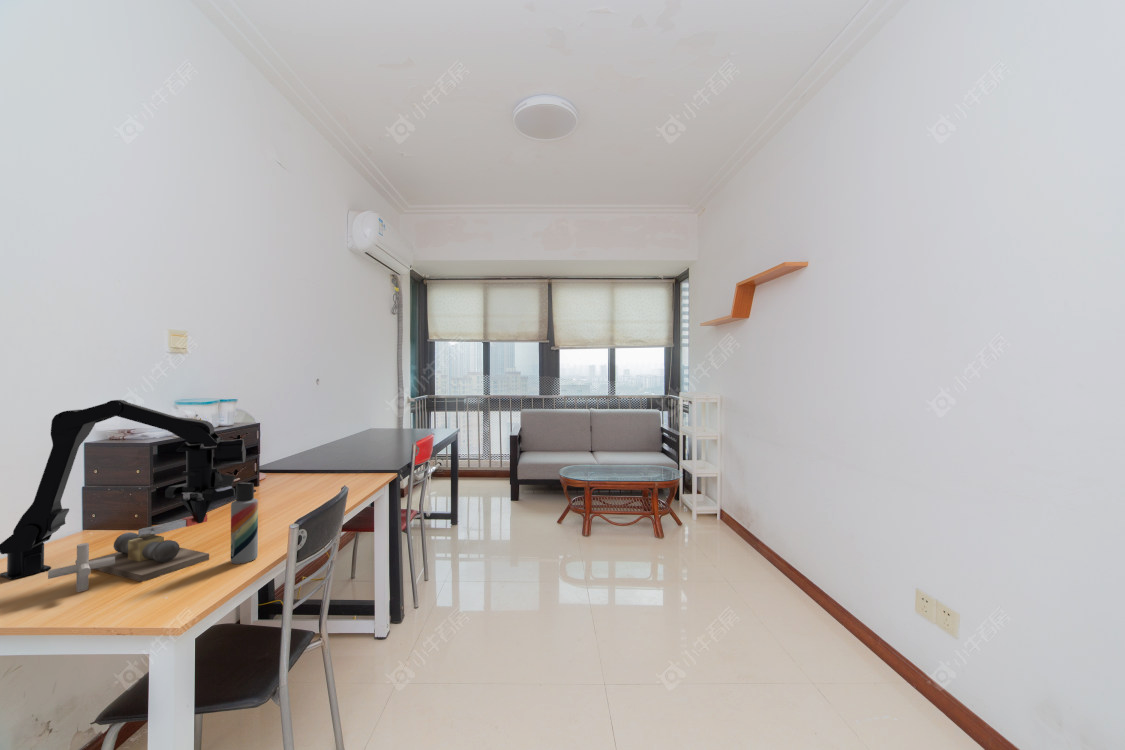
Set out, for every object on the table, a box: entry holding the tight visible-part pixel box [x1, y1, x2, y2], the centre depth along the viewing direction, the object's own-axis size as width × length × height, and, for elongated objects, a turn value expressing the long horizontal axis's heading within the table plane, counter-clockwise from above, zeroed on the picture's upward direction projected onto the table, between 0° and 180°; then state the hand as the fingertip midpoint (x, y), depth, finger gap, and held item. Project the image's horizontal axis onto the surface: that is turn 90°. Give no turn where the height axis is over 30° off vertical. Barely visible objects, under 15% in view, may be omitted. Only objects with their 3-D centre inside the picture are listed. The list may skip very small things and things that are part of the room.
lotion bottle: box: [230, 481, 259, 565], centre depth 115 cm, size 6×6×20 cm
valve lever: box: [137, 513, 208, 538], centre depth 119 cm, size 15×3×2 cm, turn 160°
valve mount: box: [89, 531, 210, 583], centre depth 113 cm, size 24×14×6 cm, turn 69°
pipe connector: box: [47, 542, 115, 593], centre depth 99 cm, size 10×10×10 cm
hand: (200, 522), depth 123 cm, fingers closed
